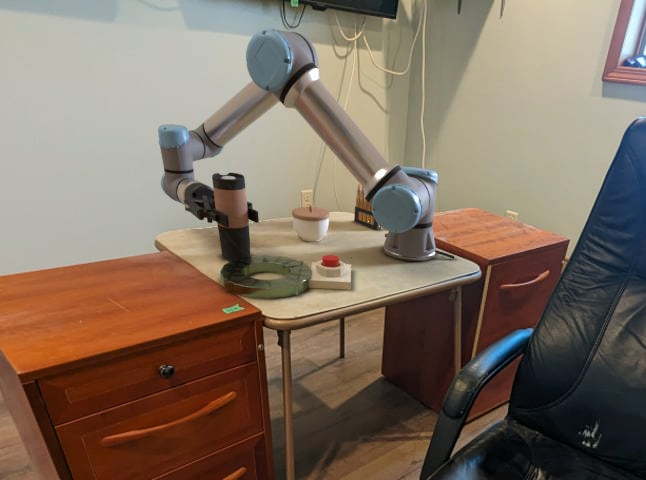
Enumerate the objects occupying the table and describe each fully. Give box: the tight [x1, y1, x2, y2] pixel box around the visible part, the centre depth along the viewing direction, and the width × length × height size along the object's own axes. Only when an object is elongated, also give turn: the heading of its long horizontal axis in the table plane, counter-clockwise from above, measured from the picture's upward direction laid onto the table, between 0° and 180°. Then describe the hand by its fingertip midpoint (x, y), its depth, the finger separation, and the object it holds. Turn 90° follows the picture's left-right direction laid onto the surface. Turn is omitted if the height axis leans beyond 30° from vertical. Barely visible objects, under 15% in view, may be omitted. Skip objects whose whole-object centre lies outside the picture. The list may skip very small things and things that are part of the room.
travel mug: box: [211, 172, 252, 262], centre depth 130 cm, size 8×8×20 cm
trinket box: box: [291, 205, 330, 243], centre depth 151 cm, size 11×11×9 cm
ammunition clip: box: [353, 183, 382, 231], centre depth 166 cm, size 11×2×12 cm, turn 49°
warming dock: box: [219, 254, 312, 300], centre depth 124 cm, size 21×21×2 cm
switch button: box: [321, 254, 340, 268], centre depth 126 cm, size 4×4×2 cm
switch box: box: [308, 259, 352, 291], centre depth 128 cm, size 10×12×4 cm
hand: (242, 219), depth 127 cm, fingers closed on travel mug, 7 cm apart
